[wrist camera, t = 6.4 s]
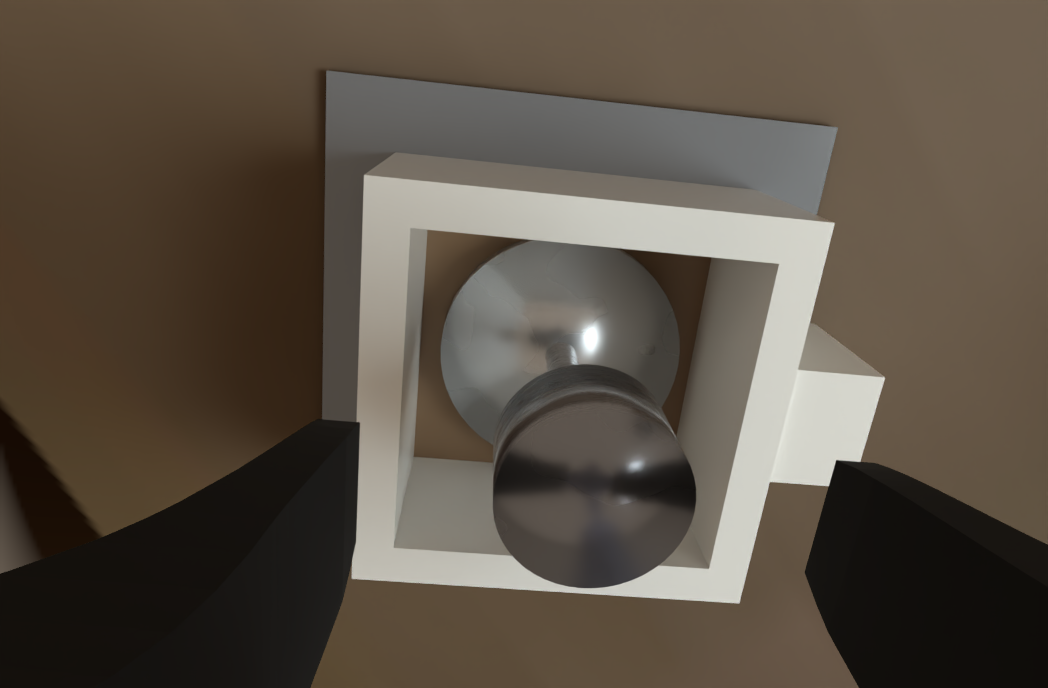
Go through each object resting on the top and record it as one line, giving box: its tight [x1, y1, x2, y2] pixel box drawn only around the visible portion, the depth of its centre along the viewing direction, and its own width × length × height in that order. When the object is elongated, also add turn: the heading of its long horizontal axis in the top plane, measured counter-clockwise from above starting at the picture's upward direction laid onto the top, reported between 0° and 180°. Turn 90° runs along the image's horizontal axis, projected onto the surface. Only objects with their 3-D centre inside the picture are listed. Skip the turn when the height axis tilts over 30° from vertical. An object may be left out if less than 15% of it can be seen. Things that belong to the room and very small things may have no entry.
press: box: [322, 71, 885, 603], centre depth 15 cm, size 11×11×4 cm
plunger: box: [441, 239, 696, 588], centre depth 14 cm, size 5×5×6 cm
